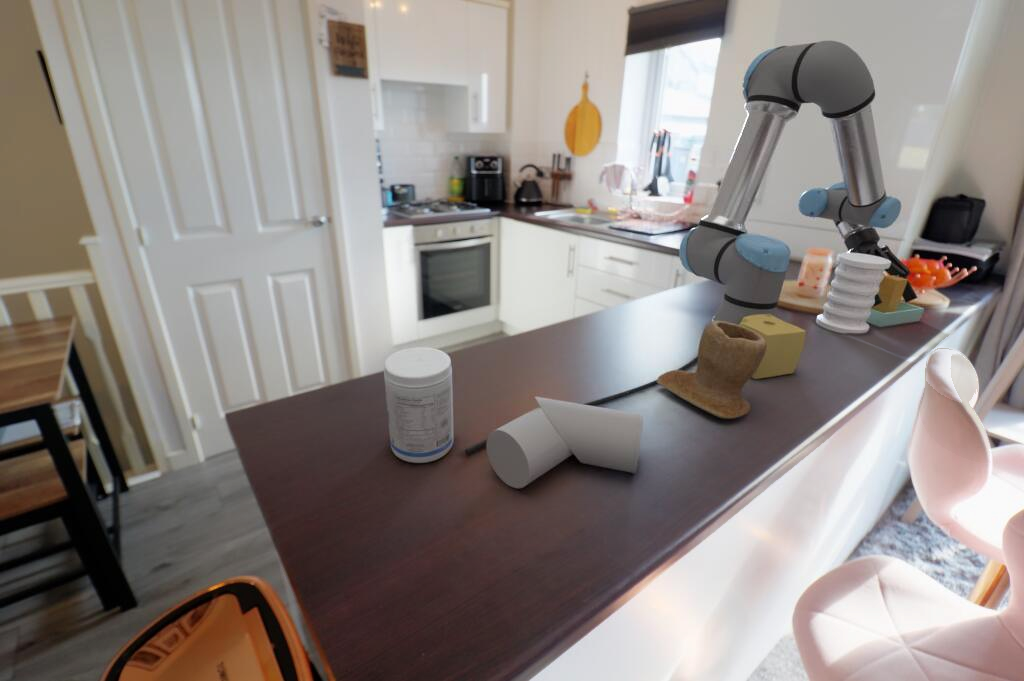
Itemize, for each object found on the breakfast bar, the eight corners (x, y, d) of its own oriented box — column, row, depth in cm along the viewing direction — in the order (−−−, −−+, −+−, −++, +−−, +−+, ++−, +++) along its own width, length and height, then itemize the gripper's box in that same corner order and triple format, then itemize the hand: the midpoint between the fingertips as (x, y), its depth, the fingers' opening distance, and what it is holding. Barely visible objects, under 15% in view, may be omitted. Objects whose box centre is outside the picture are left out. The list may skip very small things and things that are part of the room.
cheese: (719, 358, 104) (729, 316, 100) (759, 353, 107) (770, 311, 103) (755, 381, 95) (767, 335, 91) (797, 375, 98) (811, 330, 94)
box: (879, 328, 123) (884, 314, 122) (842, 314, 132) (847, 301, 130) (918, 322, 128) (924, 308, 127) (880, 309, 137) (885, 296, 135)
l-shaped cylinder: (564, 405, 82) (476, 454, 70) (580, 356, 77) (487, 400, 64) (649, 472, 73) (565, 544, 60) (675, 422, 67) (588, 489, 54)
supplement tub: (395, 428, 77) (388, 346, 71) (454, 426, 78) (452, 345, 72) (386, 468, 68) (377, 377, 62) (453, 465, 69) (451, 376, 63)
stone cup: (764, 411, 85) (786, 334, 79) (721, 430, 79) (742, 348, 73) (694, 375, 97) (709, 305, 91) (653, 389, 91) (665, 316, 85)
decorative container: (877, 336, 118) (903, 265, 111) (827, 332, 120) (849, 262, 112) (854, 319, 129) (877, 253, 121) (808, 316, 130) (828, 250, 123)
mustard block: (883, 320, 128) (897, 280, 123) (868, 314, 131) (882, 276, 127) (893, 318, 129) (908, 279, 124) (878, 313, 132) (892, 275, 128)
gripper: (876, 239, 140) (911, 304, 134) (814, 243, 132) (848, 313, 126) (902, 224, 134) (940, 291, 127) (837, 228, 126) (875, 300, 119)
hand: (894, 302), depth 126 cm, fingers open, 13 cm apart
